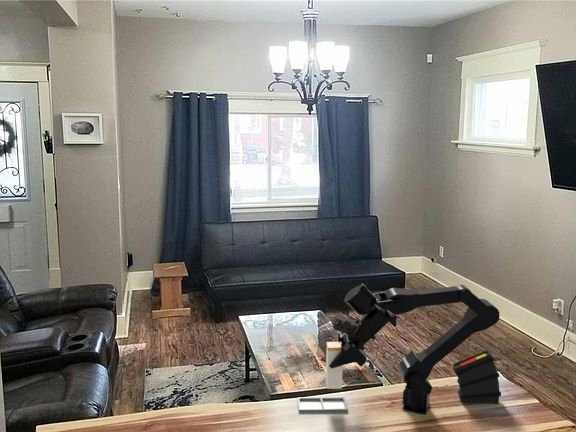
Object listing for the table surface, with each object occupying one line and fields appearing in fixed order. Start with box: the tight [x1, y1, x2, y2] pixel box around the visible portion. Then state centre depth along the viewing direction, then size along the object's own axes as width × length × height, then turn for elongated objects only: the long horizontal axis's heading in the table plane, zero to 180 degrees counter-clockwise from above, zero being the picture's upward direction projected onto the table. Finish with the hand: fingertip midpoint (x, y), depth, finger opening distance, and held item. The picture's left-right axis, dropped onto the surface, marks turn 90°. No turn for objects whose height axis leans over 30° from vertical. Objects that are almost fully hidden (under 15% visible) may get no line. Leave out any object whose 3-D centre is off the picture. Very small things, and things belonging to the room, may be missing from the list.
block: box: [325, 341, 344, 390], centre depth 160 cm, size 4×4×12 cm
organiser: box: [296, 396, 349, 414], centre depth 162 cm, size 14×7×2 cm, turn 92°
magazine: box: [452, 350, 502, 405], centre depth 167 cm, size 4×13×15 cm, turn 89°
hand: (329, 363), depth 160 cm, fingers closed on block, 4 cm apart
